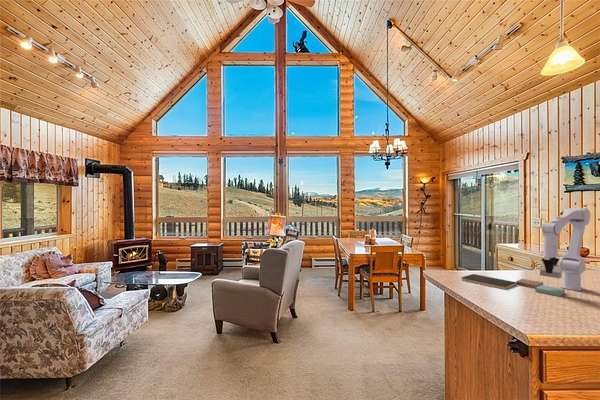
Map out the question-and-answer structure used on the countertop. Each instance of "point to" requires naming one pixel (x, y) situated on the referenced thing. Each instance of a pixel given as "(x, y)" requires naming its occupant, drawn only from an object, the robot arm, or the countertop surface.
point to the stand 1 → (528, 283)
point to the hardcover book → (489, 281)
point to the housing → (555, 272)
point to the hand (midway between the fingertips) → (550, 272)
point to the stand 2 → (550, 290)
